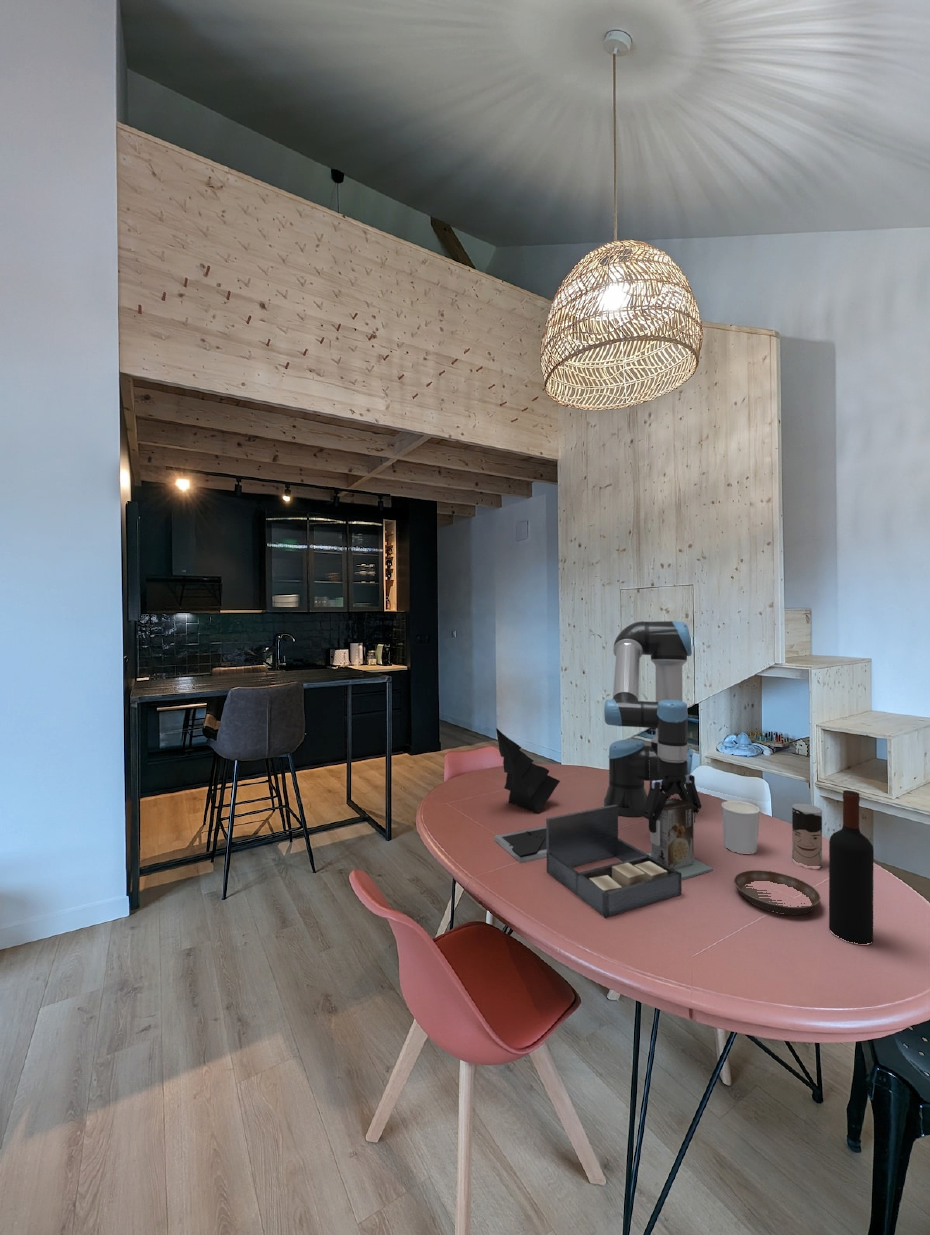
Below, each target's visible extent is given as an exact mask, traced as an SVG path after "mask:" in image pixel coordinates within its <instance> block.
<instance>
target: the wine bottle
mask: <svg viewBox="0 0 930 1235" xmlns="http://www.w3.org/2000/svg"><path fill="white" fill-rule="evenodd" d="M860 799H861V798H860V793H859V792H857V791H855V790H850V789H849V790H843V791H842V827H841V829H839V830H837V831H835V832H833V833H832V834H831V836H830V837H829V841H828V844H829V845H828V848H829V849H828V854H829V855H828V860H829V861H828V865H829V866H828V872H829V874H828V878H829V879H828V903H829V904H828V929H829V928H830V930H831V931H832V932H833V933H834V934H835V935H837V936H839V938H842V939H844V940H846V941H849V942H853V943H854V942H855V943H858V944H867V943H871V942H874V845H873V844H872V842H871V841H870V840H869V838H867V837H866V836H865V835H864V834H863V833H862V832H861V830H860V802H861V800H860ZM830 930H829V931H830ZM839 938H838V939H839Z"/></svg>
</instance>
